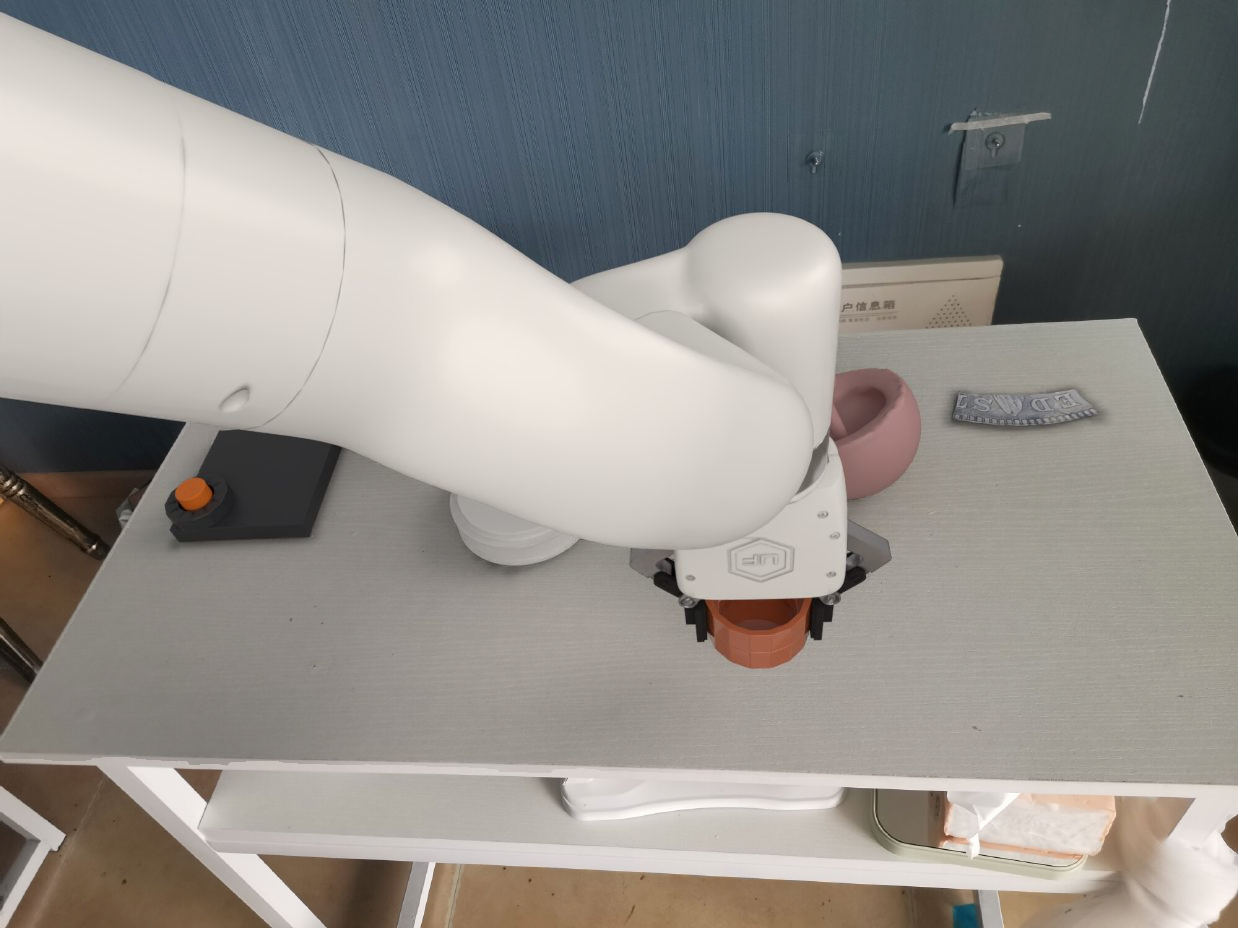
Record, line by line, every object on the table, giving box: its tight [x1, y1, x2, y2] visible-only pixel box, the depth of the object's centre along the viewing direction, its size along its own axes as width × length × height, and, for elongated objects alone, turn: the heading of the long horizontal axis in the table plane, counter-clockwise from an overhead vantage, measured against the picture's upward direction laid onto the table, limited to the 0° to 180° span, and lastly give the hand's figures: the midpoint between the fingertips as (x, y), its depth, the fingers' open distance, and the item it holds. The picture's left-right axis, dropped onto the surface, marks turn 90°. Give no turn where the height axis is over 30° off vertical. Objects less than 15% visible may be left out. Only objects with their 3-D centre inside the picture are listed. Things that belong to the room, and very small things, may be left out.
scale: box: [164, 429, 343, 543], centre depth 85 cm, size 13×13×4 cm
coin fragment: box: [952, 388, 1101, 427], centre depth 81 cm, size 13×5×1 cm, turn 85°
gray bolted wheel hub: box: [449, 492, 580, 566], centre depth 78 cm, size 13×13×5 cm
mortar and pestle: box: [830, 367, 922, 501], centre depth 74 cm, size 12×12×11 cm
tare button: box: [175, 477, 213, 511], centre depth 82 cm, size 3×3×2 cm
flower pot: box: [705, 597, 812, 670], centre depth 60 cm, size 7×7×4 cm
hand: (757, 622), depth 61 cm, fingers closed on flower pot, 7 cm apart
